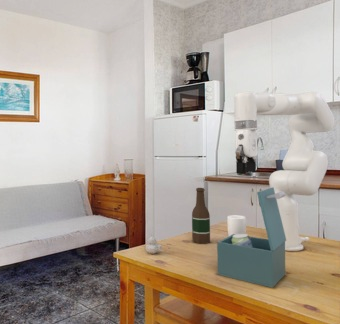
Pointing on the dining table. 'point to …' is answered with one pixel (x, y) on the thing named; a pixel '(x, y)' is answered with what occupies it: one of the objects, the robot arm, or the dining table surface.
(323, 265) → the dining table surface
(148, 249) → the white figurine
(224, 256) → the teal rectangular box
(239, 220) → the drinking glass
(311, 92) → the robot arm
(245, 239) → the beverage can
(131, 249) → the dining table surface
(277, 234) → the teal box lid
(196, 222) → the beer bottle
